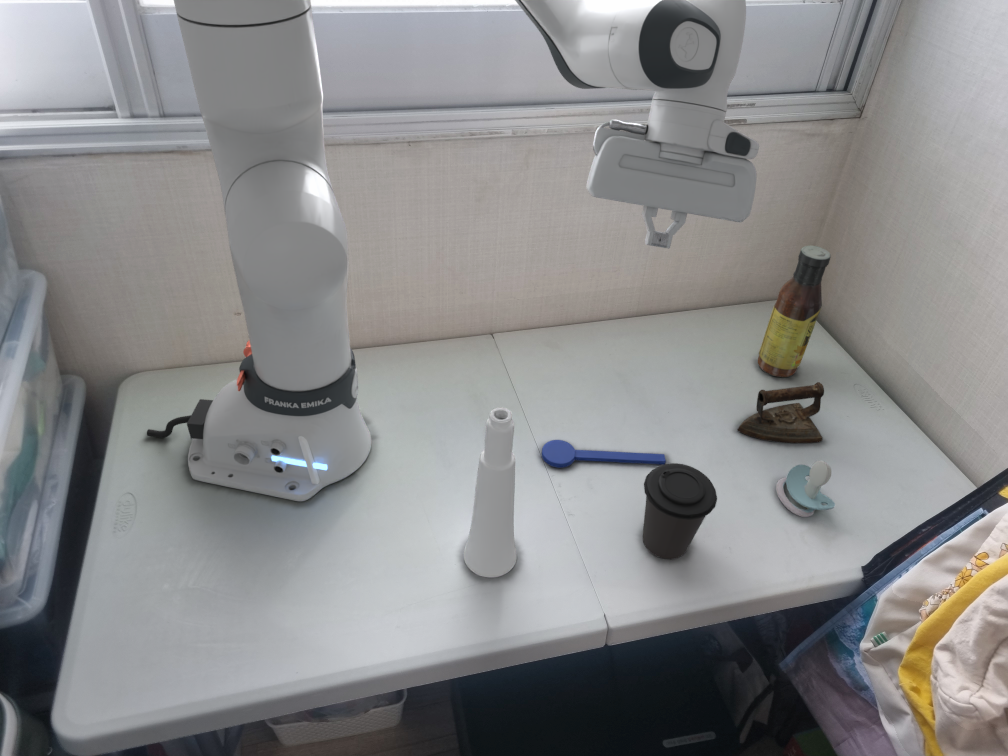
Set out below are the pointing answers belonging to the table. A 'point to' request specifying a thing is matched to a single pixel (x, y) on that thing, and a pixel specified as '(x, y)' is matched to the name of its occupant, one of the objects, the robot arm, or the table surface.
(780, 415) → the clothes iron
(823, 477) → the pacifier
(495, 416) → the cosmetic bottle
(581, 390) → the table surface
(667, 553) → the coffee cup
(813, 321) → the sauce bottle
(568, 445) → the spoon
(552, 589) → the table surface
